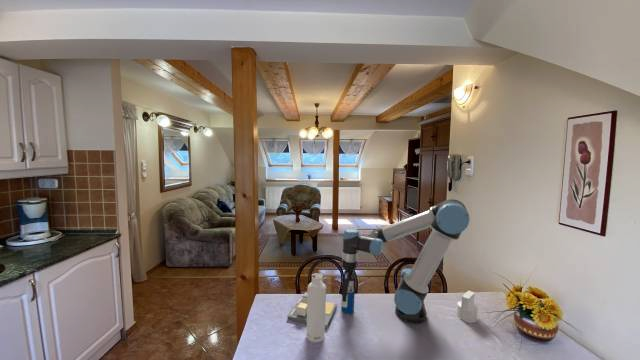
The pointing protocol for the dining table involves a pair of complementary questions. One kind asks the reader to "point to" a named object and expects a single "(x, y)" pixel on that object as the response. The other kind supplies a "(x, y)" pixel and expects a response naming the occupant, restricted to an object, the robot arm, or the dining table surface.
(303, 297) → the toggle
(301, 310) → the toggle
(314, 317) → the bottle
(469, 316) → the cylinder with rectangular tab
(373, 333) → the dining table surface
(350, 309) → the beverage can
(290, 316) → the breaker panel
